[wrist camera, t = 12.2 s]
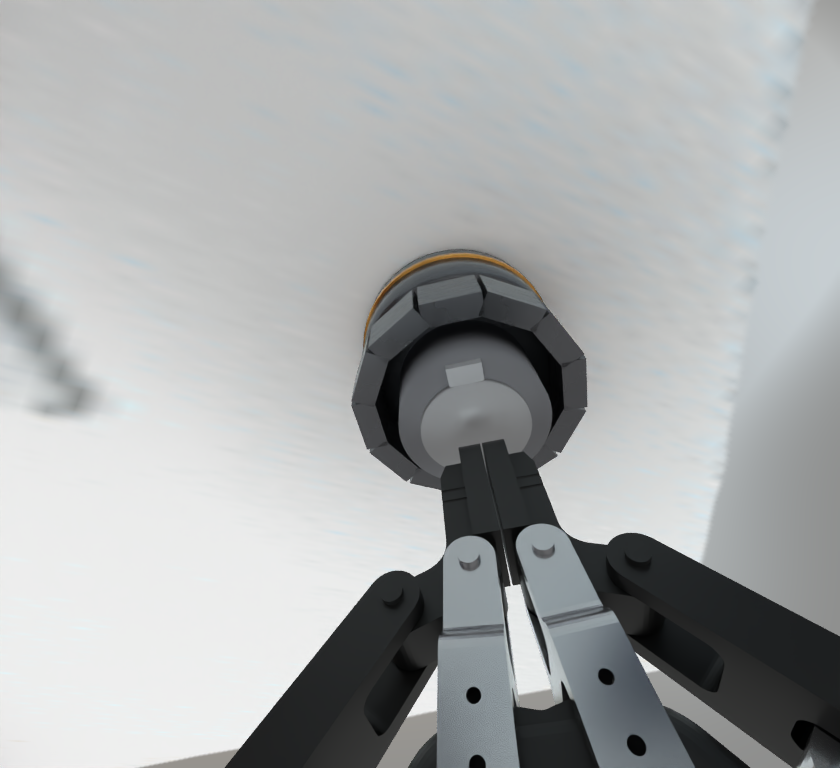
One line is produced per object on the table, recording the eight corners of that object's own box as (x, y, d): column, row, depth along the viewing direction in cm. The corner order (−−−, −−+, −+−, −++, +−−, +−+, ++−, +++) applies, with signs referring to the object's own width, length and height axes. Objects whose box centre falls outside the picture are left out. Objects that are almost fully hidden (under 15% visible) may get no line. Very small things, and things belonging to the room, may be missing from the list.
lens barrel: (342, 271, 21) (319, 324, 15) (535, 227, 20) (586, 265, 14) (390, 424, 25) (386, 508, 20) (548, 393, 24) (591, 471, 19)
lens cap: (384, 336, 18) (380, 380, 14) (522, 306, 17) (548, 345, 14) (416, 443, 20) (417, 499, 17) (535, 419, 20) (559, 473, 17)
